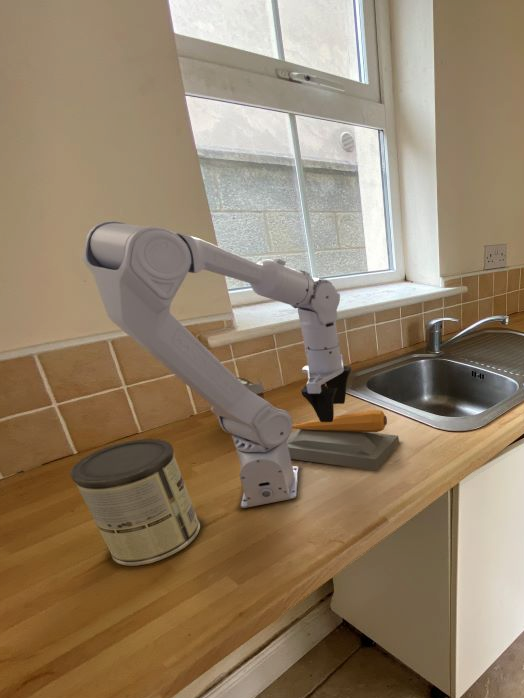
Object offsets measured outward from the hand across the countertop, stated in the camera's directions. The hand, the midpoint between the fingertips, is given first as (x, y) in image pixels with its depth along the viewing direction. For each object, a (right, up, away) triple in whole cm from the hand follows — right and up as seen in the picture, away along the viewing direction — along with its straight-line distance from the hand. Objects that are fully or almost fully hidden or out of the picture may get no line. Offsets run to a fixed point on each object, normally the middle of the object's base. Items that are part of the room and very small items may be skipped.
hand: (333, 411), depth 87 cm
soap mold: (+1, -8, +2) cm, 8 cm away
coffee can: (-16, -18, -21) cm, 32 cm away
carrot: (0, -4, +2) cm, 4 cm away
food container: (-24, -3, +10) cm, 26 cm away
